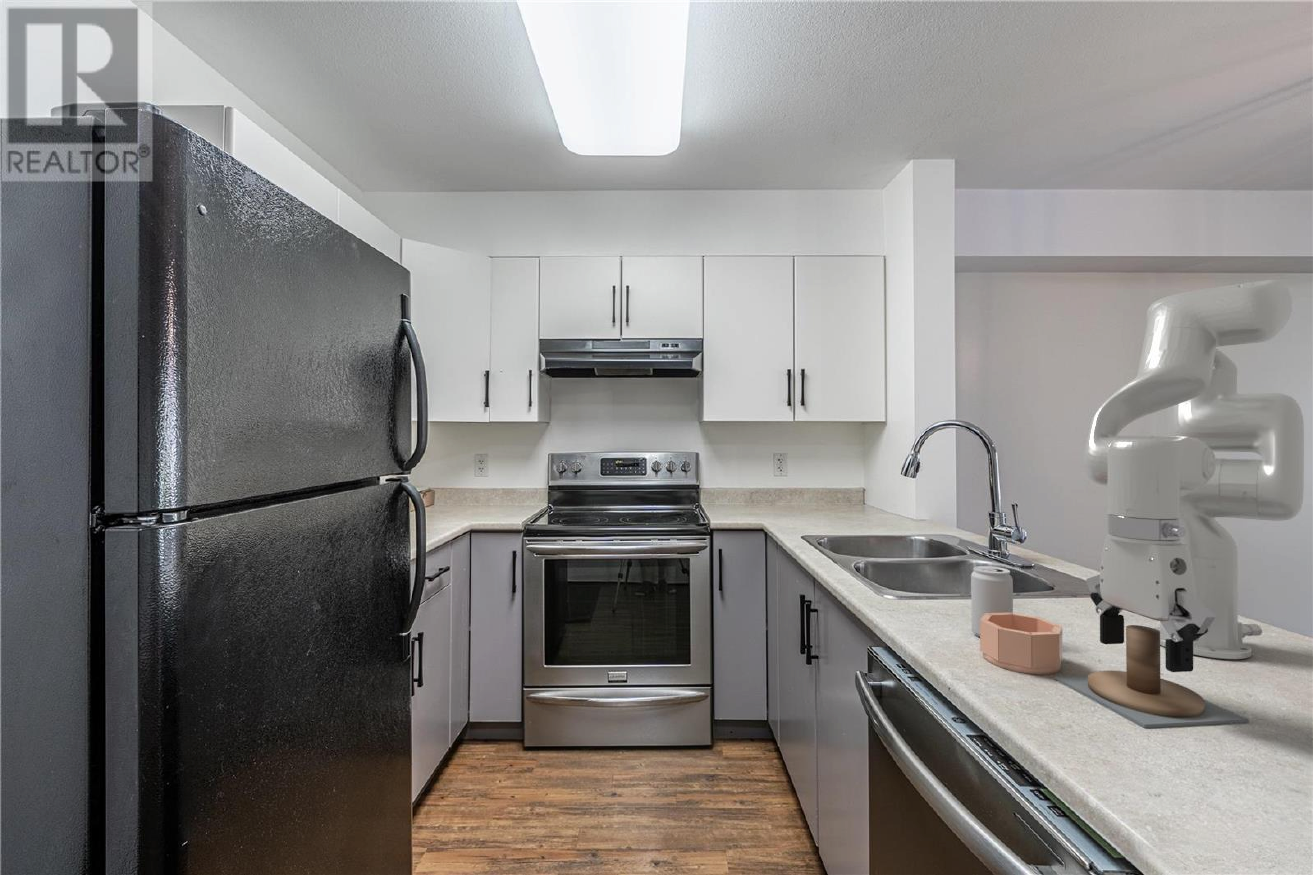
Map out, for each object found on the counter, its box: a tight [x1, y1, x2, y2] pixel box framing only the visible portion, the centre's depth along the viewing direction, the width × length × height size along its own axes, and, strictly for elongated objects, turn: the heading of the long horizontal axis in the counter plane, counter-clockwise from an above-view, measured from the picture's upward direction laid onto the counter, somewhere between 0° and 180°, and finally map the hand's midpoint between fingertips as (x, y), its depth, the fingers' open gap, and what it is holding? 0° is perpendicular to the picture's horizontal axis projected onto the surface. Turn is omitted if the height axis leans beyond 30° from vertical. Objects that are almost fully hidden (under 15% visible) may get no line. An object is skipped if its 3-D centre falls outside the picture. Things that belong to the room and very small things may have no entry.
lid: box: [1088, 624, 1205, 718], centre depth 77 cm, size 12×12×9 cm
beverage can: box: [970, 565, 1014, 638], centre depth 102 cm, size 6×6×12 cm
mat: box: [1054, 674, 1250, 729], centre depth 77 cm, size 14×14×1 cm
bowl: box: [979, 612, 1063, 676], centre depth 91 cm, size 10×10×6 cm
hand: (1143, 656), depth 77 cm, fingers open, 9 cm apart
